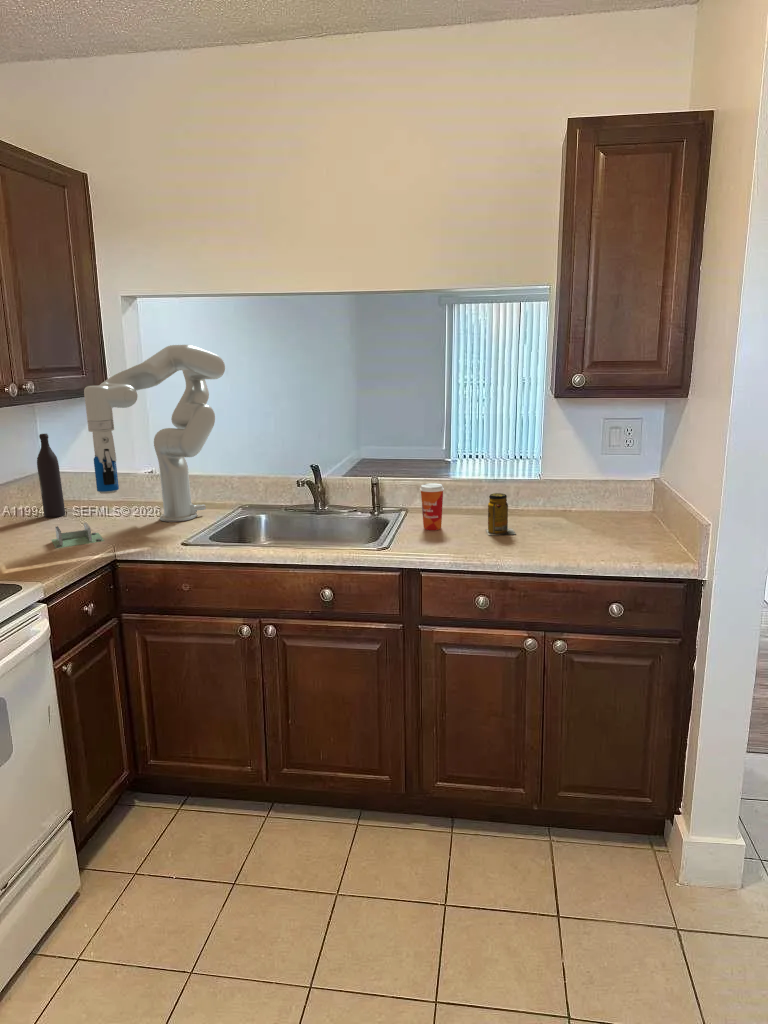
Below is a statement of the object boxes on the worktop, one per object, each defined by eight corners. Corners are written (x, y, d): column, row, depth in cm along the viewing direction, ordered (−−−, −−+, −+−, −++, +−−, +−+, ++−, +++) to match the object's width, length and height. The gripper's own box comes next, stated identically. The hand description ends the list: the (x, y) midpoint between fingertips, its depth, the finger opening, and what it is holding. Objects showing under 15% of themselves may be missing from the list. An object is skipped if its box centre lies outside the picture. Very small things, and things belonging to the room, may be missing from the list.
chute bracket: (87, 535, 228) (86, 521, 227) (92, 541, 220) (90, 527, 219) (56, 540, 223) (54, 526, 222) (60, 546, 216) (58, 532, 215)
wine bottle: (59, 512, 265) (47, 432, 258) (69, 514, 261) (58, 433, 254) (40, 516, 260) (28, 434, 253) (51, 519, 256) (39, 435, 249)
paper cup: (415, 528, 227) (414, 485, 224) (430, 523, 233) (430, 481, 230) (434, 532, 222) (434, 488, 219) (449, 527, 228) (449, 484, 224)
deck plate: (98, 535, 231) (98, 531, 231) (105, 543, 221) (104, 539, 221) (51, 542, 224) (51, 538, 224) (56, 551, 214) (55, 547, 214)
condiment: (485, 529, 224) (485, 492, 221) (512, 529, 224) (512, 491, 221) (488, 535, 217) (488, 497, 214) (516, 535, 217) (516, 496, 214)
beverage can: (111, 494, 222) (107, 456, 220) (93, 494, 223) (88, 456, 221) (123, 490, 228) (119, 453, 226) (104, 490, 230) (100, 453, 227)
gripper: (119, 427, 216) (125, 485, 220) (108, 423, 230) (114, 477, 234) (92, 429, 212) (99, 488, 216) (83, 424, 227) (90, 480, 231)
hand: (107, 482), depth 225 cm, fingers closed on beverage can, 6 cm apart
